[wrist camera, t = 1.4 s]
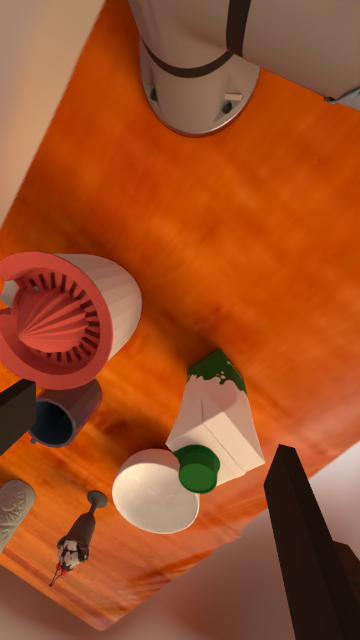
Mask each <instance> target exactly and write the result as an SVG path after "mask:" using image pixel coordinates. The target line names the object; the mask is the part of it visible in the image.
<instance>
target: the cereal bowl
mask: <svg viewBox="0 0 360 640" xmlns="http://www.w3.org/2000/svg"><path fill="white" fill-rule="evenodd" d="M179 467H180V464H179V462H178V459H177V458H176V457H175V456H174V455H173V454H172V452H170V451H167V450H163V449H147V450H143V451H140V452H137V453H135V454H133V455H132V456H131V457H129V458H128V459H127V460H126V461H125V462H124V463H123V465H122V466H121V467H120V469H119V471H118V473H117V475H116V477H115V480H114V482H113V487H112V497H113V501H114V504H115V506H116V508H117V510H118V511H119V512H120V514H121V515H122V516H123V517H124V518H125V519H126V520H127V521H129V522H130V523H132V524H133V525H135V526H136V527H138V528H141V529H143V530H146V531H149V532H153V533H163V534H168V533H175V532H178V531H181V530H183V529H185V528H187V527H188V526H190V525H191V524H192V523H193V521H194V520H195V518H196V517H197V514H198V511H199V504H200V501H199V500H200V494H197V493H193V492H190V491H188V490H187V489H185V488H184V487H183V486H182V485H181V483H180V481H179V477H178V475H179V474H178V473H179Z"/></svg>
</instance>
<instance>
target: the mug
mask: <svg viewBox="0 0 360 640" xmlns="http://www.w3.org/2000/svg"><path fill="white" fill-rule="evenodd" d="M101 401H102V390H101V387H100V385H99V383H98V382H97V381H96V379H92V380H91V381H89V382H88V383H86V384H84V385H82V386H79V387H76V388H73V389H65V390H53V389H46V388H45V389H44V390H43V391H41V392H40V393H39V394H37V395H36V423H35V424H34V425H33V426H32V427H31V428H30V429H29V430H28V431H27V432H28V433H29V435H30V436H31V437H32V438H31V440H30V442H31V444H35V443H37V442H39V443H41V444H43V445H46V446H48V447H55V448H60V447H63V446H67V445H69V444H70V443H71V442H72V441H73V440H74V438H75V437H76V436H77V434H78V433H79V432H80V430H81V429H82V428H83V427H84V425H85V424H86V423H87V421H88V420H89V419H90V417H91V416H92V415H93V414H94V412H95V411H96V410H97V408H98V407H99V405H100V403H101Z"/></svg>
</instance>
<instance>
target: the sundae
mask: <svg viewBox="0 0 360 640" xmlns="http://www.w3.org/2000/svg"><path fill="white" fill-rule="evenodd" d="M88 501H89V502H90V504H92V506H91V508H90V510H89V512H88V513H84V514H82V515H80V517H79V518H78V519H77V520H76V522H75V523H74V525H73V526H72V528H71V529H70V531H69V532H68V534H67V535H66V536H64V537H62V538H61V539H60V540H59V542H58V544H57V547H58V549H59V551H58V559H59V563H58V564H57V566H56V568H57V571H58V570H59V571H60V570H61V575H66V574H67V572H68V571H71V570H73V569H74V568H75V567H76V566H77V565H78V564H79V563H82V562H83V563H84V562H85V560H87V559H88V557H89V548H88V547H89V544H90V541H91V538H92V535H93V532H94V528H95V518H94V516H93V514H94V511H95V509H96V508H97V507H98V508H102V507H105V506H106V505H107V498H106V496H105V495H104V494H102V493H101V492H98V491H93V492H90V493H89V494H88ZM57 571H56V573H57ZM56 573H55V576H56ZM61 575H59V576H58V577H60V576H61ZM55 576H54V578H55ZM58 577H57V578H58ZM54 578H53V580H54ZM57 578H56V579H57ZM56 579H55V580H56ZM55 580H54V581H55ZM52 582H53V581H52ZM53 583H54V582H53ZM52 585H53V584H52V583H51V584H49V586H50V587H52Z"/></svg>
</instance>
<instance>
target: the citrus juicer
mask: <svg viewBox="0 0 360 640" xmlns="http://www.w3.org/2000/svg"><path fill="white" fill-rule="evenodd" d="M0 277H1V278H2V279H4V280H5V284H4V289H3V292H2V293H1V294H0V300H1V301H2V302H4V303H5V304H6V305H7V306H9V308H6V309H2V310H0V361H1V362H2V363H3V364H4V365H5V366H6V367H7V368H8V369H9V370H10V371H11V372H13V373H14V374H15V375H17V376H18V377H20V378H21V379H27V380H31V381H35V382H36V386H38V387H42V388H46V389H53V390H65V389H73V388H76V387H79V386H82V385H84V384H86V383H88V382H89V381H91V380H92V379H94V378H95V377H96V376H97V375H98V374H99V373H100V372H101V371H102V369H103V368H104V366H105V364H106V363H107V361H108V360H109V359H110V358H111V357H112V356H113V355H114V354H115V353H116V352H117V351H118V350H119V349H120V348H121V347H122V346H123V345H124V344H125V343H126V342H127V341H128V340H129V339H130V337H131V336H132V334H133V333H134V331H135V330H136V327H137V325H138V322H139V320H140V317H141V313H142V307H143V302H142V295H141V291H140V288H139V286H138V284H137V282H136V280H135V279H134V277H133V276H132V275H131V274H130V273H129V272H128V271H127V270H126V269H125V268H123V267H122V266H120V265H119V264H116V263H115V262H113V261H110V260H108V259H105V258H103V257H99V256H95V255H89V254H51V253H47V252H42V251H23V252H19V253H15V254H12V255H10V256H8V257H6V258H4V259H3V260H1V261H0Z"/></svg>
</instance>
